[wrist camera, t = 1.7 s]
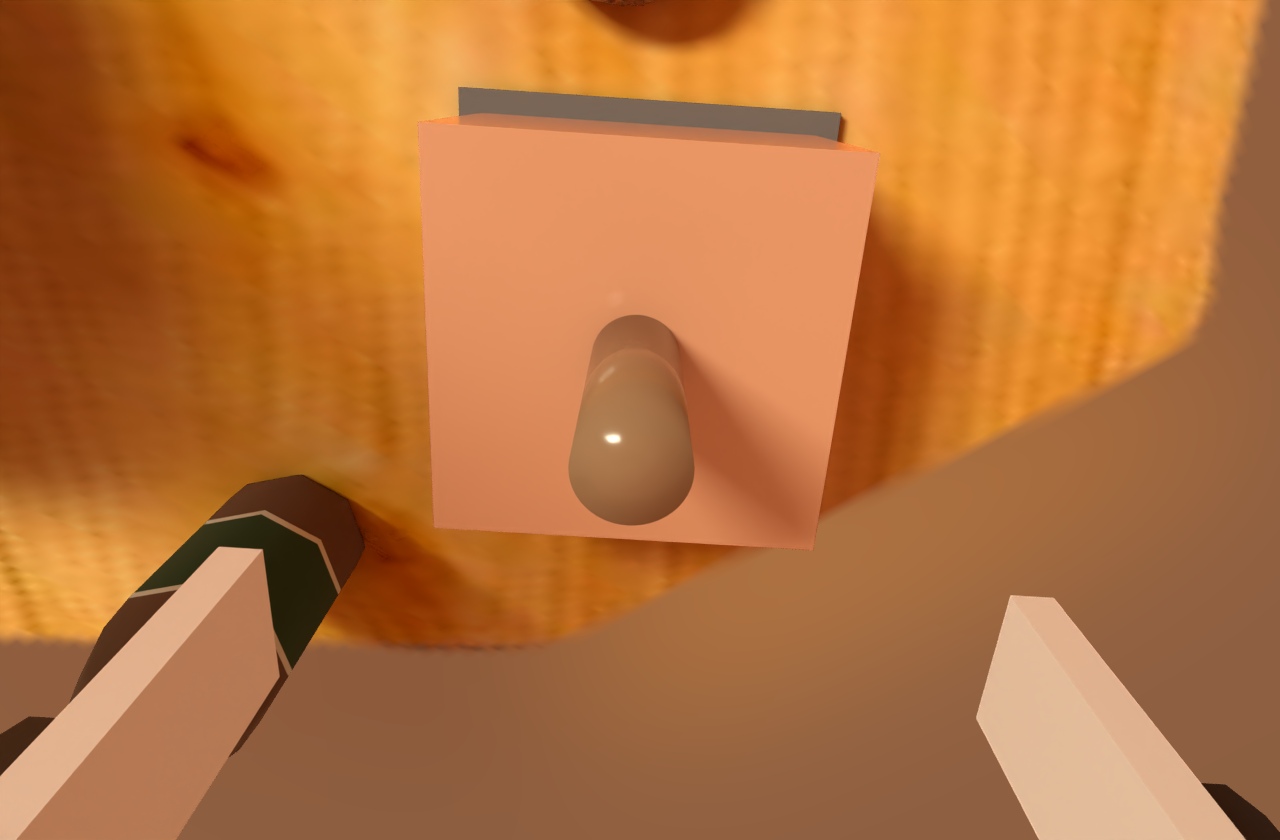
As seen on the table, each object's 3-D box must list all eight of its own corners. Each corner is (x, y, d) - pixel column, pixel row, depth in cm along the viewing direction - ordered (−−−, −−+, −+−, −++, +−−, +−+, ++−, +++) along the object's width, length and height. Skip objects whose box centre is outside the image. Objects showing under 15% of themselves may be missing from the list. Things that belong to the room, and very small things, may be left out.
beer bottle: (198, 514, 44) (-251, 939, 22) (302, 443, 43) (-70, 825, 20) (295, 612, 47) (-21, 1084, 25) (398, 548, 45) (157, 993, 23)
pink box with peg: (484, 422, 42) (355, 689, 23) (481, 112, 36) (305, 138, 17) (773, 440, 42) (874, 718, 23) (815, 135, 36) (992, 183, 18)
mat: (467, 435, 42) (465, 439, 42) (460, 87, 36) (458, 87, 36) (788, 454, 43) (790, 458, 42) (838, 112, 36) (841, 113, 36)
